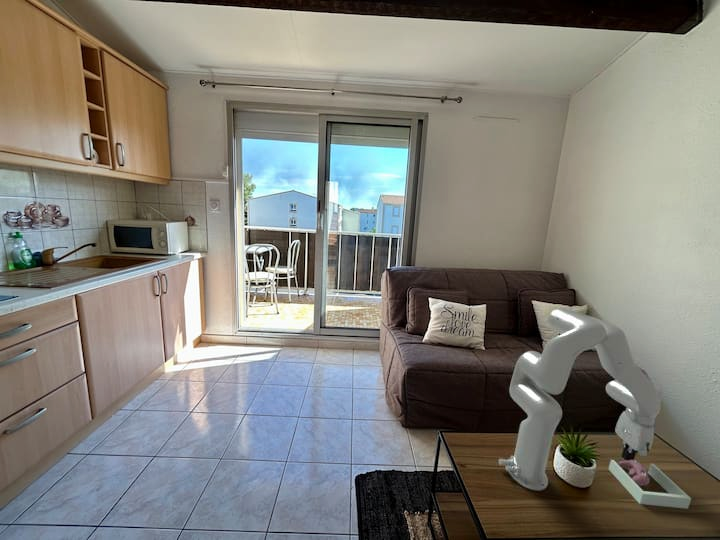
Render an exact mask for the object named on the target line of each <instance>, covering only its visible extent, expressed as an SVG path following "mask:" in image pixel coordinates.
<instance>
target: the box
mask: <svg viewBox="0 0 720 540" xmlns="http://www.w3.org/2000/svg"><path fill="white" fill-rule="evenodd" d="M608 470H609V471H610V472H611V474H613V476H614V477H615V478H616V479H617V480H618V482H619V483H621V485H622V486H623V487H624V488H625V489H626V490H627V491H628V492H629V494H630V495H631V496H632V497H633V499H635V501H636V502H637V503H638V504H639V505H647V506H657V507H667V508H678V509H687V510H688V509H689V506H690V504H691V501H692V498H691V496H690V495H688V494H687V493H686V492H685V491H684V490H683V489H681V487H680V486H678V485H677V483H675V482H674V481H673V480H672V479H671V478H670V477H668V476H667V475H666V474H665V473H664V472H663V471H662V469H660V468H659V467H658V466H657V465H656V464H655V463H650V465H649V468H648V470H647V473H648V475H649V476H651V478H652V479H653V480H654V481H656V482H657V484H659V486H661V488H663V490H664V491H666V492H657V491H647V490H646V491H645V490H644V489H642V488H641V486H638V485H637V484H636V483H635V482H634V481H633V480H632V479H631V478H632V477H630V474H629V473H627V472H626V471H625V470H624V468H622V467H620V466H619V465H618V463H617V462H616V461H615V460H614V459H610V462H609V465H608Z"/></svg>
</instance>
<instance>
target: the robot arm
mask: <svg viewBox="0 0 720 540" xmlns="http://www.w3.org/2000/svg"><path fill="white" fill-rule="evenodd" d="M547 323H548V326H549V327H550V328H551V329H552V330H553V331H554V332H557V333H559V335H556V336H555V337H552V338H551V339H549V341H547V342H546V343H545V345H544V348H543V349H542V350H543V351H542V352H541V353H540V352H538V351H535V350H529V351H525V352H524V353H522V354H521V355H520V356H519V358H518V359H517V361H516V363H515V368H514V370H513V373H512V378H511V381H510V386H509V391H508V392H509V395H510V397H511V398H512V400H513V401H514V402H515V403H516V404H517V405H518V406H519V407H520V408H521V409H522V410H523V411H524V412H525V413H526V415H527V418H526V419H524V420H522V421H521V422H520V424H519V428H518V435H517V441H516V443H515V444H516V445H515V450H514V455H510V458H507V459H505V458H498V464H499V466H505V471H507V472H508V473H509V475H510V477H512V479H513V480H514V481H516V482H517V483H518V484H519V485H521V486H523V487H524V488H526V489H528V490H531V491H539V492H541V491H543V490H545V489H547V487H548V485H549V478H548V476H547V474H546V468H547V465H548V464H547V463H548V460H549V455H550V451H551V447H552V441H553V438H554V436H555V435H554V434H555V431H556V429H557V426H558V425H559V423H560V422H561V420H562V417H563V410H562V408H561V406H560V404H559V402H558V401H557V400H556V399H555V398H553V396H552V395H554V396H555V395H556V396H557V395H559V394H561V393H562V392H564V390H565V387H566V385H567V382H568V379H569V377H570V374H571V371H572V367H573V365H574V363H575V360H576V359H577V357H578V356H579V355H580V354H581V353H583V352H585V351H586V350H589V349H590V348H592V347H595V350H596V352H597V356H598V359H599V361H600V363H601V366H602V368H603V369H604V370H605V371H606V372H607V373H608V374H609V375H610V376H611V377H612V378H613V379H614V380H611V381H609V382H608V383H606V385H605V391H606V394H607V395H608V396H609V397H611V399H613V400H615V402H618V403H620V405H623V406H624V407H626V408H625V410H623V411H622V413H621V414H620V416H619V418H618V420H617V422H616V425H615V430H614V431H615V434H616V435H617V436H618V437H619V438H620V439H621V441H622V447H623V448H622V449H623V450H622V453H621V458H622V459H623V460H624V461H627V460H635V457H636V454H638V455H639V456H641V457H646V458H647V455H648V453H649V452H650V451H651V449H652V445H653V442H654V437H655V430H654V429H655V427H654V423H655V420H656V417H657V416H658V415H659V413H660V411H661V401H662V398H663V397H662V396H663V392H662V389H660V387H658V386H657V385H655V384H653V382H652V381H651V380H650V379H649V378H648V377H647V375H645V373H644V372H643V371H642V370H641V369H640V367H639V366H638V365H636V363H635V362H634V359H633V356H632V353H631V349H630V345H629V342H628V339H627V337H626V334H625V332H624V331H623V330H622V329H621V328H620V327H619V326H616V325H615V324H612V323H609V322H607V321H604V320H602V319H599V318H597V317H594V316H590V315H587V314H583V313H581V312H577V311H574V310H572V309H568V308H565V307H559V308H555V309H553V310H551V312H550V313H549V314H548V316H547ZM550 394H551V395H550Z"/></svg>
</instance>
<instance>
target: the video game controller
mask: <svg viewBox="0 0 720 540" xmlns="http://www.w3.org/2000/svg"><path fill="white" fill-rule="evenodd" d="M617 464H618V465H619V466H620V467H621V468H622V469H629V470H628V474H629V475H630V476H632V477H630V478H631V479H632V480H633V481H634V482H635V483H636V484H637V485H638V486H639V487H641V486H642V487H643V486H647V485H649V484H650V479H651V478H650V477H649V474H648V470H647V469H646V467H645V466H644V465H643V464H642V462H640V461H639V460H636V459H634V460H621V461H618V463H617Z"/></svg>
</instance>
